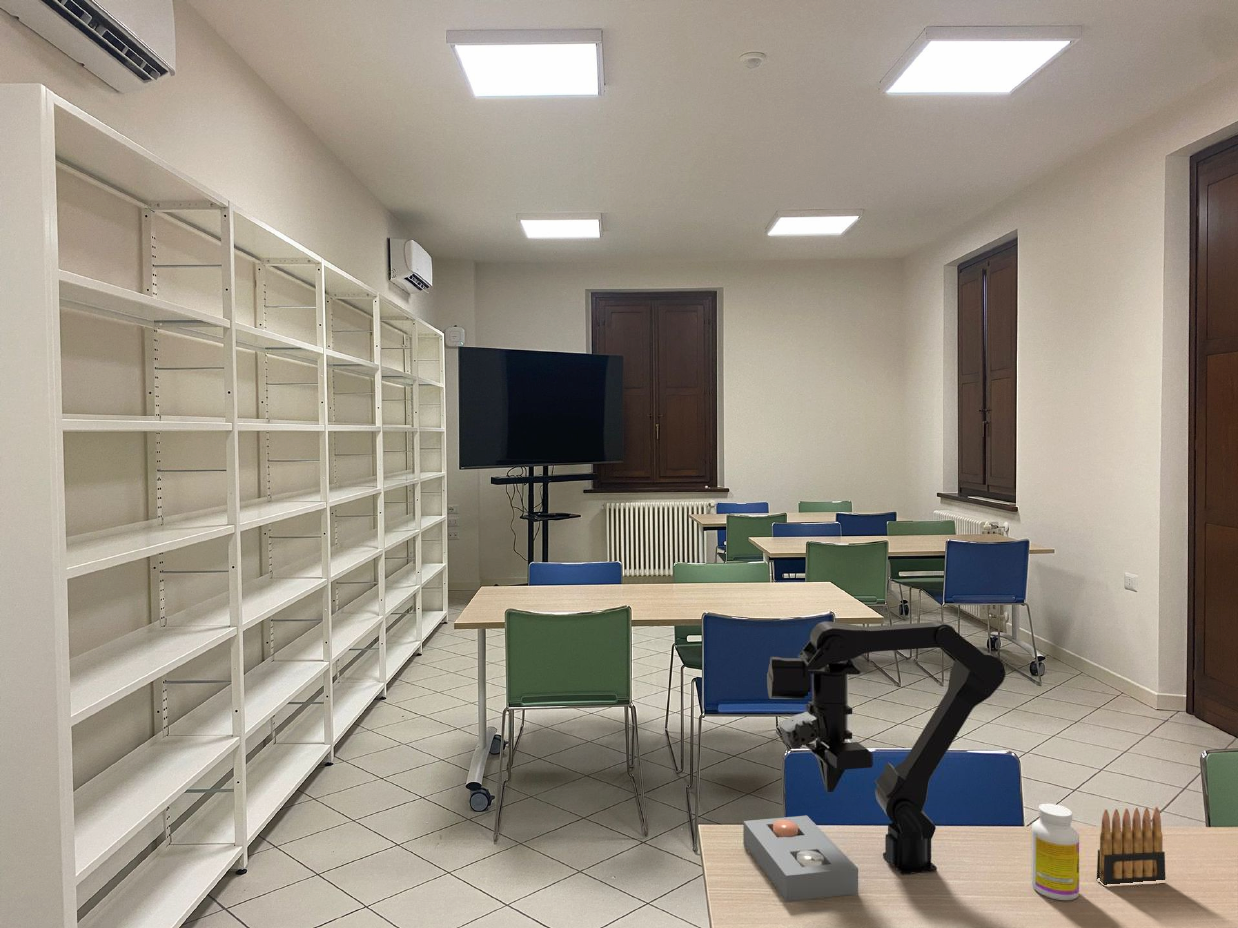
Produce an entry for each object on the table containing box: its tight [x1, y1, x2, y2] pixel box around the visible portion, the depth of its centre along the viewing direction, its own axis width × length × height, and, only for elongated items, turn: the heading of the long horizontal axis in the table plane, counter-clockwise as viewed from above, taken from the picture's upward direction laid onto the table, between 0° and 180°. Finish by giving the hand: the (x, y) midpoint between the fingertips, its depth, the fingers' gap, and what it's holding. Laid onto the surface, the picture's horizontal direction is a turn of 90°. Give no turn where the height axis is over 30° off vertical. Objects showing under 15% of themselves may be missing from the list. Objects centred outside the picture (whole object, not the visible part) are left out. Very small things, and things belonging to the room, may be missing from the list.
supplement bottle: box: [1030, 803, 1080, 901], centre depth 126 cm, size 7×7×13 cm
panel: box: [742, 815, 859, 903], centre depth 134 cm, size 12×19×4 cm, turn 11°
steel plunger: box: [797, 850, 824, 867], centre depth 129 cm, size 4×4×3 cm
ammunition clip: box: [1096, 806, 1167, 885], centre depth 129 cm, size 11×2×12 cm, turn 96°
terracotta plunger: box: [773, 820, 798, 838], centre depth 138 cm, size 4×4×3 cm
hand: (829, 791), depth 135 cm, fingers closed
